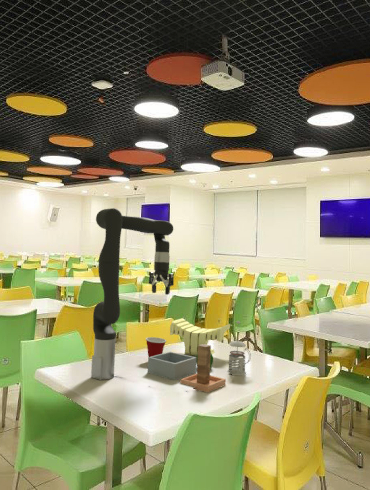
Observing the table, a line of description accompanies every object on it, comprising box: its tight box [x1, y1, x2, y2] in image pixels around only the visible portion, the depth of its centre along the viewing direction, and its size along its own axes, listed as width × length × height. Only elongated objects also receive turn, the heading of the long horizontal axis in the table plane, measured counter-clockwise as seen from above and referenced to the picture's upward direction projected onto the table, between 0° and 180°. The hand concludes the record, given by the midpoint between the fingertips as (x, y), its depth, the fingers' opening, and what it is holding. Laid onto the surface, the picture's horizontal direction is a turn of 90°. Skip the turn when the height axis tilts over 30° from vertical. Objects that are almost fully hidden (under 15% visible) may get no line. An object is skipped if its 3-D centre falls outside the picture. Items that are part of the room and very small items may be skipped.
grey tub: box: [147, 351, 197, 381], centre depth 190 cm, size 16×16×8 cm
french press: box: [226, 320, 252, 376], centre depth 197 cm, size 10×12×25 cm
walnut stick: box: [196, 344, 212, 385], centre depth 177 cm, size 4×4×16 cm
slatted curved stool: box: [169, 317, 231, 357], centre depth 232 cm, size 30×16×18 cm, turn 65°
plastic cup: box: [145, 336, 167, 357], centre depth 211 cm, size 11×11×12 cm
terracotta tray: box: [180, 373, 227, 393], centre depth 176 cm, size 14×14×2 cm
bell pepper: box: [195, 354, 214, 370], centre depth 200 cm, size 8×8×10 cm
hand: (160, 293), depth 204 cm, fingers open, 8 cm apart
